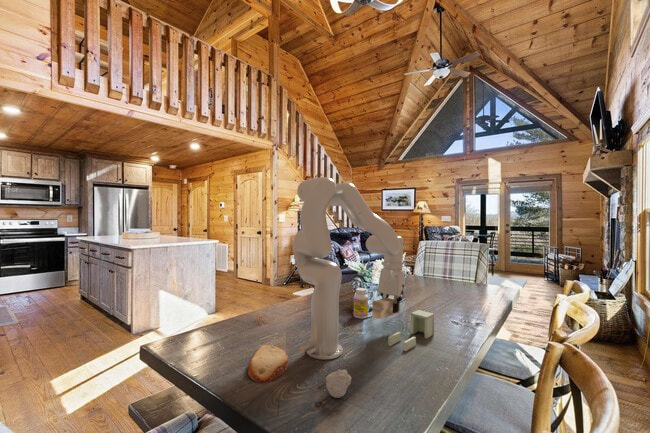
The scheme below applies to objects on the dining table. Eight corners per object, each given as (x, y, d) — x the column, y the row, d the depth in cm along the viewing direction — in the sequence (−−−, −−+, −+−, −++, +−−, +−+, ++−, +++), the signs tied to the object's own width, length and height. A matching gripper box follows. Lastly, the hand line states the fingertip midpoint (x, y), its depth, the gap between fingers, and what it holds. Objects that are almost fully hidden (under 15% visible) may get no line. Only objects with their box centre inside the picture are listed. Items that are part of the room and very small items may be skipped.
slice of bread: (270, 348, 111) (270, 337, 110) (306, 364, 99) (306, 352, 99) (225, 366, 97) (225, 354, 97) (261, 388, 85) (261, 374, 85)
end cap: (426, 338, 119) (427, 317, 119) (410, 333, 124) (411, 313, 124) (433, 334, 124) (434, 313, 124) (418, 329, 128) (418, 309, 128)
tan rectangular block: (379, 319, 117) (380, 303, 117) (372, 316, 120) (372, 301, 120) (399, 312, 127) (399, 298, 127) (391, 310, 130) (392, 296, 130)
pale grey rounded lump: (347, 406, 77) (347, 378, 77) (321, 399, 79) (321, 372, 79) (354, 393, 83) (354, 367, 82) (329, 387, 85) (329, 362, 85)
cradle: (405, 351, 108) (405, 342, 108) (388, 345, 113) (388, 336, 113) (415, 345, 113) (415, 337, 113) (398, 339, 118) (398, 331, 118)
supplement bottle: (351, 317, 143) (351, 289, 142) (356, 313, 148) (357, 286, 148) (365, 320, 139) (365, 291, 139) (370, 315, 145) (370, 288, 145)
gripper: (370, 264, 129) (368, 308, 129) (406, 269, 118) (404, 318, 117) (381, 263, 135) (379, 305, 134) (416, 268, 123) (414, 314, 123)
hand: (390, 310), depth 126 cm, fingers closed on tan rectangular block, 3 cm apart
